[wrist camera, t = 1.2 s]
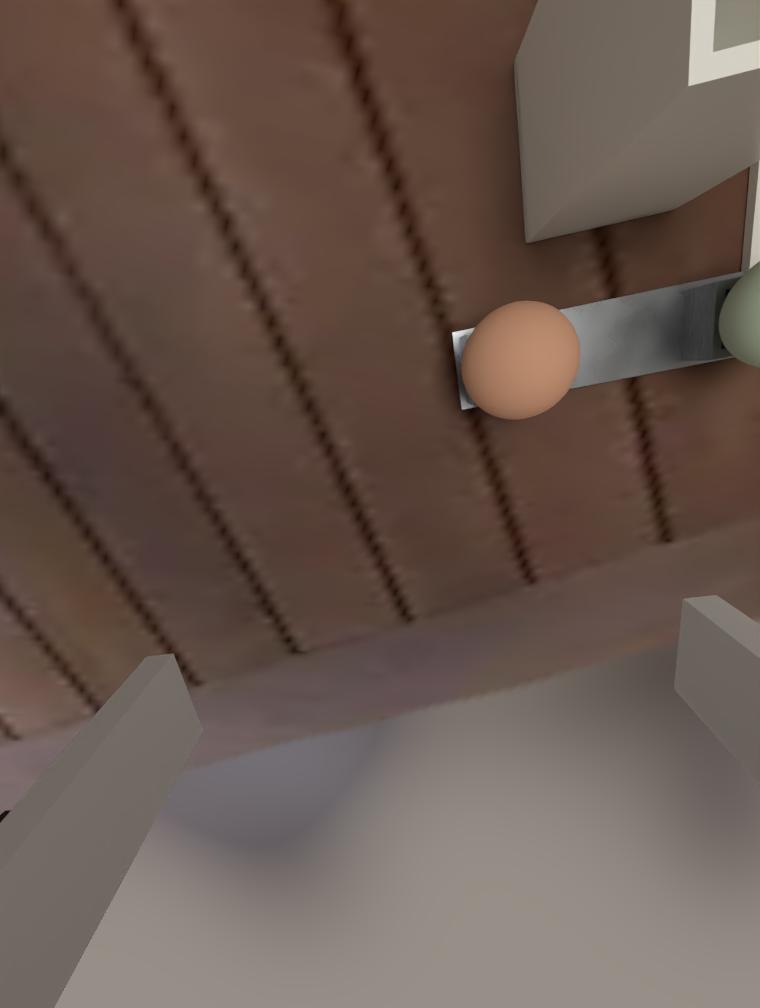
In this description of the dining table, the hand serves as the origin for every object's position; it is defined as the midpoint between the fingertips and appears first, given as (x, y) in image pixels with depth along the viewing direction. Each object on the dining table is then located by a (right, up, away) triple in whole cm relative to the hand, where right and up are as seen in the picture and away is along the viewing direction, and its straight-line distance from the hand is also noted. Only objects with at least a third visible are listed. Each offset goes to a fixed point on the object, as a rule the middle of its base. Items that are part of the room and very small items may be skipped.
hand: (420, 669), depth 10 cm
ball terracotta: (+6, +13, +14) cm, 20 cm away
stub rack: (+13, +15, +15) cm, 25 cm away
